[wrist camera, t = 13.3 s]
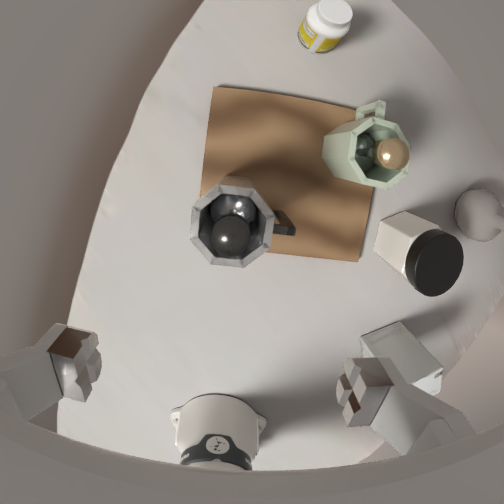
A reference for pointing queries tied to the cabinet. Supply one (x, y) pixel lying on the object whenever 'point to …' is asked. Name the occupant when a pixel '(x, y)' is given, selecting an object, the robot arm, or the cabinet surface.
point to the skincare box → (405, 356)
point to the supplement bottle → (325, 25)
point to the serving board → (288, 168)
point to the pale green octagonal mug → (344, 145)
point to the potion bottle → (479, 215)
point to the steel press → (258, 230)
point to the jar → (420, 252)
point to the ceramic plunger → (381, 153)
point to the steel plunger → (232, 224)
